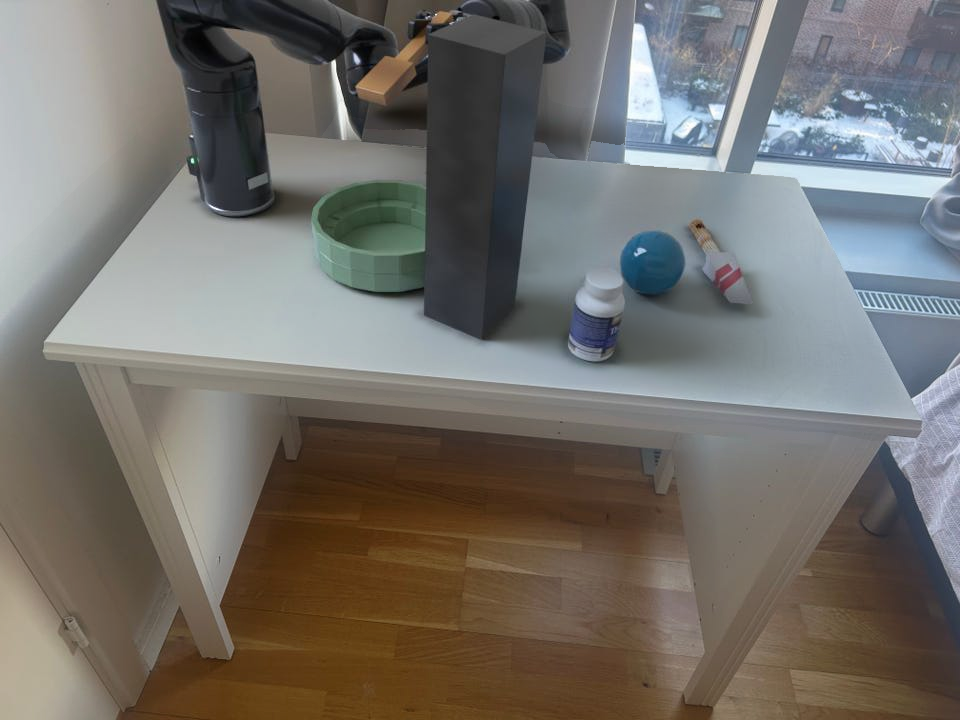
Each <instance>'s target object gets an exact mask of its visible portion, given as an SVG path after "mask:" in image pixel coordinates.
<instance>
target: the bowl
mask: <svg viewBox="0 0 960 720" xmlns="http://www.w3.org/2000/svg"><path fill="white" fill-rule="evenodd" d="M425 217H426V184H422V183H419V182H413V181H407V180H401V179H371V180H365V181H357V182H353V183H350V184H346V185H343V186H341V187H337V188H335V189H334V190H332V191H330V192H329V193H326V194H325V195H324V196H322V197H321V198H320V199H319V200H318V202H317V203H316V204H315V205H314V206H313V208H312V213H311V219H310V223H311V225H310V226H311V234H312V243H313V245H312V246H313V255H314V257H315V260H316V262H317V264H318V266H319V269H321V271H323V272H324V273H325V274H326V275H328V276H329V277H330V278H331V279H332V280H334V281H336V282H339V283H341V284H343V285H345V286H348V287H351V288H353V289H359V290H364V291H370V292H374V293H375V292H376V293H396V292H397V293H400V292H401V293H402V292H406V291H412V290H416V289H422V288H424V280H425Z"/></svg>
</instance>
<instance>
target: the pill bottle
mask: <svg viewBox="0 0 960 720" xmlns="http://www.w3.org/2000/svg"><path fill="white" fill-rule="evenodd" d="M623 286H624V278H623V276H622V274H620V273H619V272H617V271H616V270H614V269H611V268H608V267H607V268H606V267H595V268H591V269H590V270H589V271H587V273H586V274H585V278H584V281H583V286H581V287H580V288H579V289H578V290H577V292H576V295H575V298H574V305H573V311H572V317H571V321H570V327H569V333H568V339H567V346H568V350H569V351H570V352H571V353H572V354H573V355H574V356H575V357H577V358H579V359H581V360H584V361H587V362H602V361H606V360H607V359H609V358H610V357H611V356H612V355H613V353H614V350H615V347H616V343H617V339H618V335H619V331H620V327H621V322H622V318H623V314H624V311H625V306H626V301H625V297H624V295H623V291H622V290H623Z"/></svg>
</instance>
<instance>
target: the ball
mask: <svg viewBox="0 0 960 720" xmlns="http://www.w3.org/2000/svg"><path fill="white" fill-rule="evenodd" d="M620 253H621V254H620V257H619V267H620V273H621V274H620V275H621V276H622V278H623V281H625V282H626V284H627V286H629V288H631V289H633V290H634V291H636V292H638V293H639V294H643V295H647V296H648V295H650V296H654V295H660V294H663V293H666V292H668V291H669V290H671V289H673V288H674V287H675V286H676V285H677V284H678V282H679V281H681V280H680V279H681V278H682V277H683V274H684V272H685V269H686V256H685V252H684V249H683V246H682V245H681V243H680V241H678V240H677V239H676V237H674V236H673V235H672V234H670V233H668V232H665V231H662V230H657V229H650V230H645V231H642V232H640V233H637V234H636V235H633V236H631V238H630V239H629V240H628V241H627V242H626V244H625V245H624V247H623V249H622V250H621V252H620Z"/></svg>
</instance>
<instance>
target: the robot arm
mask: <svg viewBox="0 0 960 720" xmlns="http://www.w3.org/2000/svg"><path fill="white" fill-rule="evenodd" d="M155 3H156V7H157V11H158V15H159V19H160V22H161V26H162V30H163V33H164V38H165V42H166V46H167V50H168V52H169V55H170V58H171V59H172V62H173V63H174V65H175V66H176V68H177V70H178V71H179V75H180V80H181V85H182V89H183V94H184V99H185V105H186V108H187V114H188V118H189V123H190V128H191V133H190V134H189V135H188V142H189V147H190V152H191V155H189V156H187V157H186V163H187V169H188V173H189V175H191V176H194V177H195V178H196V179H197V180H196V181H197V185H198V186H197V187H198V191H199V196H200V200H203V201H204V202H205V206H206V208H207V209H208V210H209V211H211V212H213V213H215V214H217V215H221V216H225V217H247V216H252V215H256V214H258V213H262V212H263V211H265V210H267V209H268V208H270V207H271V206H273V204H274V203H275V191H274V189H273V182H272V173H271V165H270V159H269V158H270V157H269V150H268V142H267V136H266V129H265V121H264V114H263V106H262V100H261V99H262V98H261V91H260V85H259V77H258V70H257V63H256V60H255V57H254V55H253V53H251V51H249V50H248V49H247V48H246V47H245V46H243V45H241V44H240V43H239V42H237V41H236V40H235V39H233V38H232V37H231V35H229V34H228V32H227V31H226V30H225V29H228V30H239V31H243V32H249V33H252V34H253V33H254V34H258V35H261V36H265V37H267V39H268V41H269V42H270V43H271V45H272V46H273V47H274V48H275V49H276V50H277V51H279V52H280V53H282V54H283V55H285V56H287V57H290V58H292V59H294V60H297V61H300V62H302V63H305V64H307V65H312V66H323V65H327V64H329V63H330V64H331V63H332V62H333V61H335V60H337V59H338V58H339V57H341V56H342V55H343V56H344V57H343V58H344V64H345V65H344V66H345V75H346V82H347V87H348V90H349V93H350V94H351V95H353V96H355V97H357V98H359V97H358V93H357V90H356V85H357V84H358V83H359V82H360V81H361V80H362V79H363V78H364V77H365V76H366V75H367V74H368V73H369V72H370V71H371V70H372V69H373V68H374V67H375V66H376V65H377V64H378V63H379V62H380V61H381V60H382V59H383V58H384V57H385V56H389V57H393V58H395V57H396V56H397V55H398V54H399V53H400V51H399V43H398V39H397V37H396V35H395V33H394V32H393V31H392V30H390V29H389V28H387V27H385V26H384V25H380V24H378V23H375V22H374V21H373V22H372V21H370V20H367V19H364V18H362V17H359V16H357V15H354V14H352V13H350V12H348V11H346V10H344V9H342V8H341V7H338V6H337V5H335V3H332V2H331V1H330V0H155ZM439 12H440V11H437V12H435V14H434V16H432V12H429V11H428V10H426V9H424V8H421V9H418V11H416V13H415V18H411V19H410V20H409V21H408V23H407V24H408V25H407V39H408V40H410V41H412V40H413V39H414V38H415V37H416V36H417V35H418V34H419V33H420V32H421V30H422V29H423V28H424V27H425V26H426V25H427V24H428V23H429V22H430V21H431V20H432V19H433V18H434V17H435V16H436V15H437V14H438V13H439ZM446 12H447V11H446ZM447 13H452V14H453V20H454V22H449V23H448V24H447V23H429V24H428V25H427V27H426V36H425V42H426V44H428V34H430V33H433V32H435V31H437V30H439V29H442V28H444V27H446V26H449V25H451V24H453V23H455V22H458V21H460V20H462V19H465V18H467V17H469V16H471V15H479V16H483V17H487V18H491V19H495V20H499V21H503V22H507V23H511V24H515V25H519V26H523V27H527V28H531V29H535V30H539V31H543V32H546V41H545V50H544V59H543V65H551V64H555V63H558V62H560V61H562V60H563V59H565V58H566V57H567V56H568V54H569V53H570V51H571V47H572V35H571V31H570V30H571V28H570V27H571V26H570V21H569V20H570V19H569V14H568V13H569V12H568V5H567V0H464V1H463V2H462V3H461V4H460V5H459V6H458V7H457V9H456V10H455V9H453V10H452V9H451V10H449V11H448V12H447ZM415 70H416V76H415V77H414V78H413V79H412V80H411V81H410V82H409V84H408V85H407V86H406V87H405V88H404V89H403V90H402V91H401V92H400V93H402V92H405V91H409V90H411V89H414V88H417V87H419V86H421V85H425V84H428V53H427V54H426V55H425V56H424V57H423V58H422V59H421V60H420V61H419V62H418V63H417V64H416V66H415Z"/></svg>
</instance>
